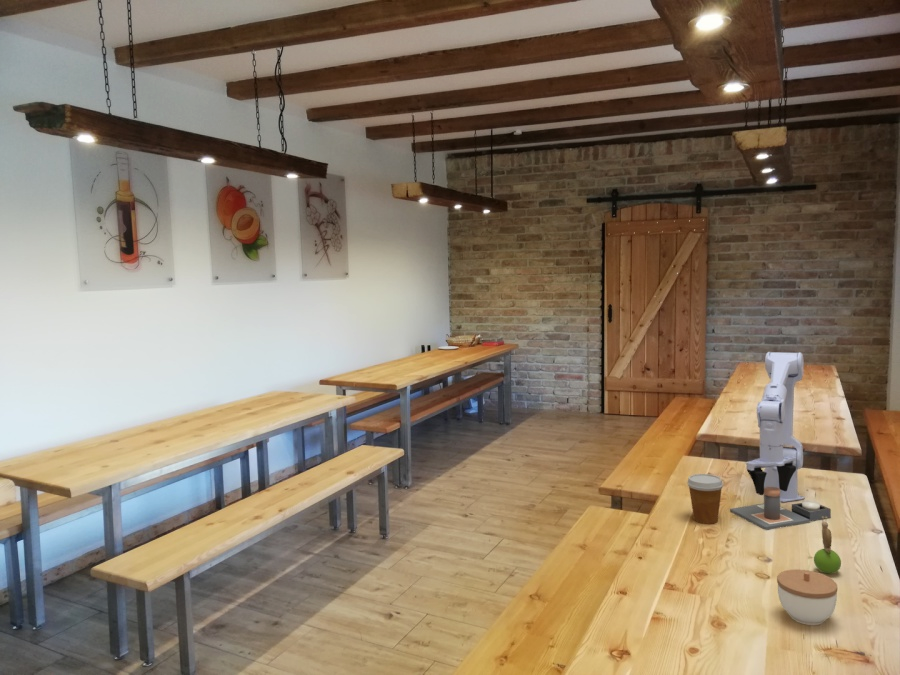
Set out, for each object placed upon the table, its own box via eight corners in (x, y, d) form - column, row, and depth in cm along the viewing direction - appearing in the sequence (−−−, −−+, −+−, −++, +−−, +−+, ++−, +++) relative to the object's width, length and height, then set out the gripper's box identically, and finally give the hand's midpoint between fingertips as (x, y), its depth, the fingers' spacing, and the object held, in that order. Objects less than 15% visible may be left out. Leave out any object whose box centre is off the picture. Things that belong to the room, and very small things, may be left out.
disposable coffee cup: (687, 524, 186) (686, 482, 185) (688, 512, 195) (687, 472, 194) (724, 527, 183) (723, 485, 181) (724, 515, 191) (723, 474, 190)
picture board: (729, 511, 194) (729, 508, 194) (771, 504, 197) (771, 501, 197) (765, 530, 180) (765, 526, 179) (809, 522, 183) (809, 519, 183)
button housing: (791, 513, 190) (791, 504, 190) (811, 509, 192) (811, 501, 192) (810, 521, 184) (810, 512, 183) (830, 518, 185) (830, 508, 185)
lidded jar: (811, 637, 128) (811, 590, 128) (765, 612, 138) (765, 568, 137) (849, 622, 133) (850, 577, 132) (802, 599, 142) (802, 557, 142)
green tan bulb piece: (837, 566, 157) (837, 516, 155) (843, 578, 151) (843, 527, 149) (811, 564, 158) (811, 515, 157) (816, 576, 152) (816, 525, 151)
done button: (798, 507, 189) (798, 501, 189) (811, 505, 190) (811, 499, 190) (810, 512, 185) (810, 506, 185) (823, 510, 186) (823, 504, 186)
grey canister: (760, 515, 187) (760, 488, 186) (772, 513, 188) (772, 485, 187) (771, 521, 183) (771, 492, 182) (784, 518, 184) (783, 490, 183)
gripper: (758, 450, 178) (759, 500, 179) (804, 444, 182) (804, 492, 183) (740, 444, 185) (741, 492, 186) (785, 438, 188) (785, 485, 190)
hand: (771, 492), depth 185 cm, fingers open, 7 cm apart
